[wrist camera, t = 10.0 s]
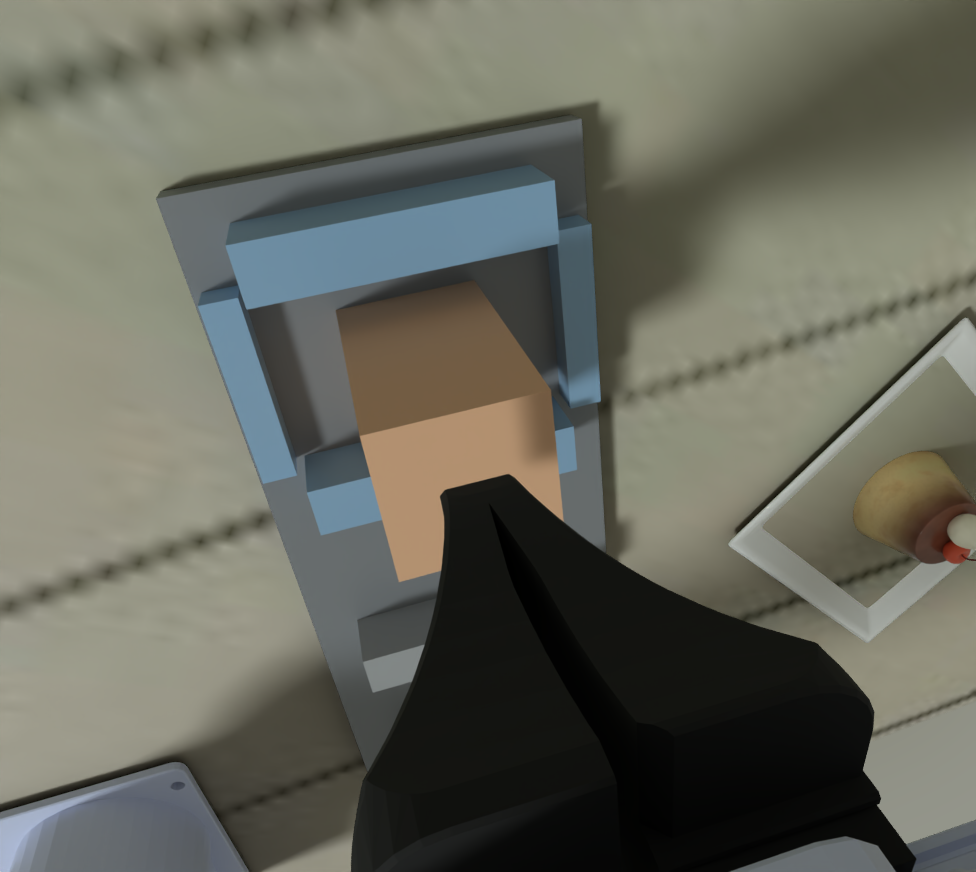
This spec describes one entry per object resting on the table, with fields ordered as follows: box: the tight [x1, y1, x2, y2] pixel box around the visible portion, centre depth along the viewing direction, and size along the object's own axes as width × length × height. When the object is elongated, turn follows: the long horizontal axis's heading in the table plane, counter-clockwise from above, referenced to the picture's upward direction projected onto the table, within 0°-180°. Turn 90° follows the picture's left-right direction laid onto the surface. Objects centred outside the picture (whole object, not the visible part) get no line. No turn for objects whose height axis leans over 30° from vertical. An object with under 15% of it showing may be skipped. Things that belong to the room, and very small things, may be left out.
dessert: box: [729, 317, 976, 643], centre depth 30 cm, size 12×12×5 cm
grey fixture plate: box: [156, 115, 606, 772], centre depth 25 cm, size 25×11×3 cm, turn 8°
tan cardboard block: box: [336, 280, 564, 582], centre depth 19 cm, size 4×4×7 cm
